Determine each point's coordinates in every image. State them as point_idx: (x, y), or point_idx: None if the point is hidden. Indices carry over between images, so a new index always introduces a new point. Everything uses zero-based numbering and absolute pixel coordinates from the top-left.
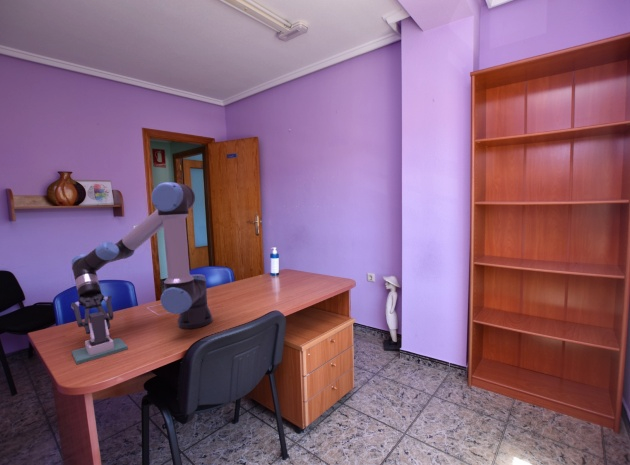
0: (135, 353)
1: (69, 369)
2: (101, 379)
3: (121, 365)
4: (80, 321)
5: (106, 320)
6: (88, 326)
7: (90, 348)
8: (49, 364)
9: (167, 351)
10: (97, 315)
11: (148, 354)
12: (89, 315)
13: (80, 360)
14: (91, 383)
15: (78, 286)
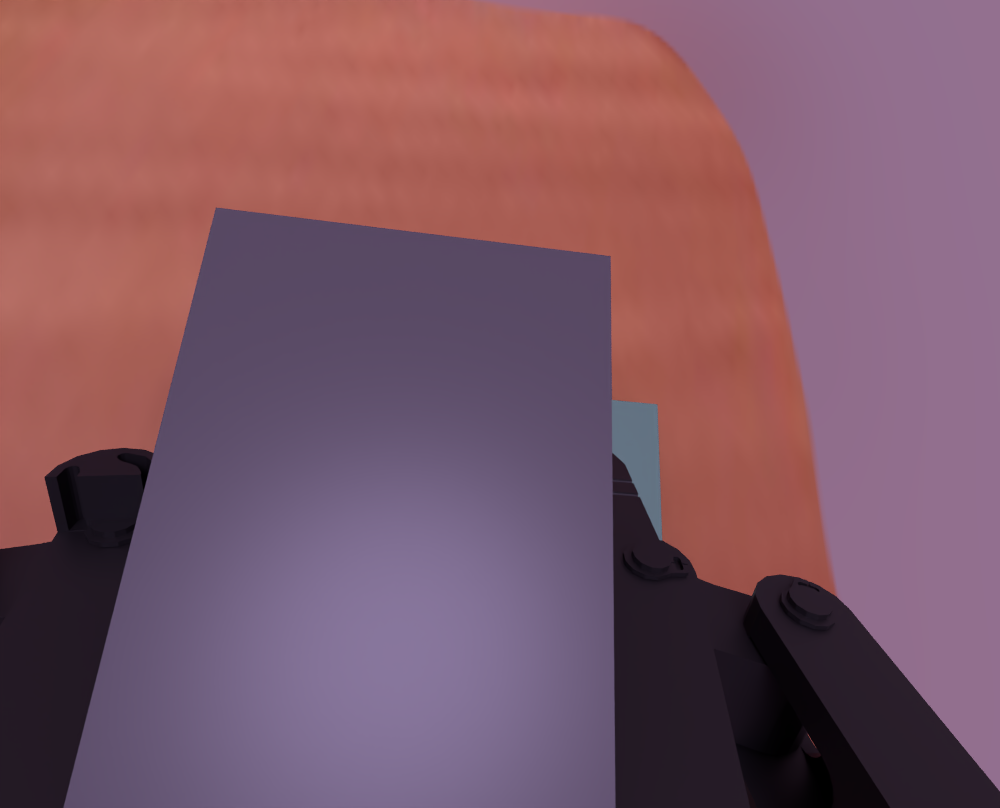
0: (200, 211)
1: (701, 364)
2: (549, 27)
3: (386, 98)
4: (816, 630)
5: None
6: None
7: None
8: None
9: (8, 23)
10: (413, 292)
11: (143, 100)
12: (605, 681)
13: (624, 402)
14: (606, 30)
15: None
